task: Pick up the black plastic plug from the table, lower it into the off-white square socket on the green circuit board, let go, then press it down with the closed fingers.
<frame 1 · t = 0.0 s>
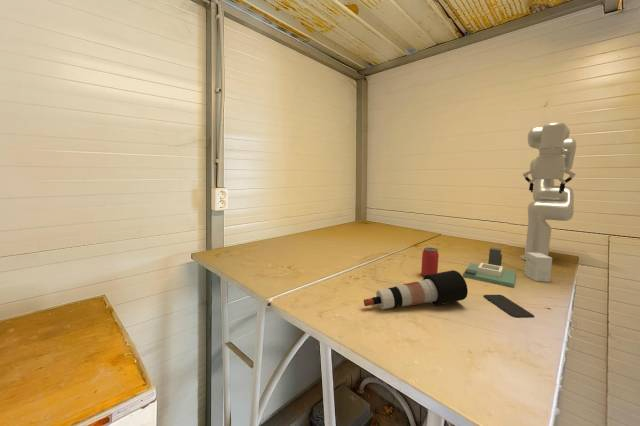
hand: (545, 192, 115), 37 cm above the table, tool pointing down, fingers open, 9 cm apart
phone: (506, 307, 89), on the table
circuit board: (489, 275, 116), on the table
header socket: (490, 269, 116), point 3 cm above the table
small box: (536, 278, 114), on the table
beer can: (429, 275, 116), on the table
plug: (493, 266, 129), on the table
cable: (412, 305, 89), on the table
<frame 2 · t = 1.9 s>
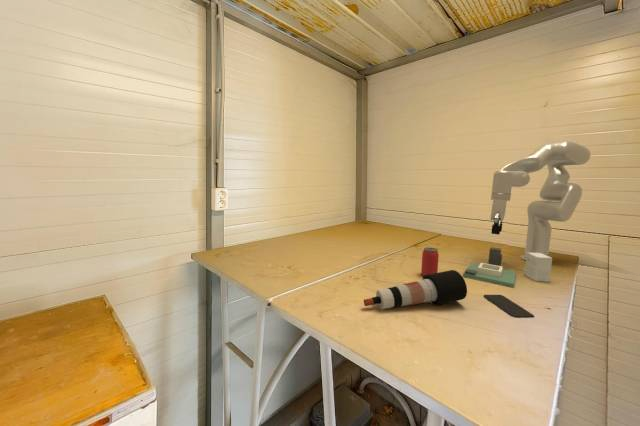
hand: (496, 232, 126), 17 cm above the table, tool pointing down, fingers open, 9 cm apart
nothing on the table moved.
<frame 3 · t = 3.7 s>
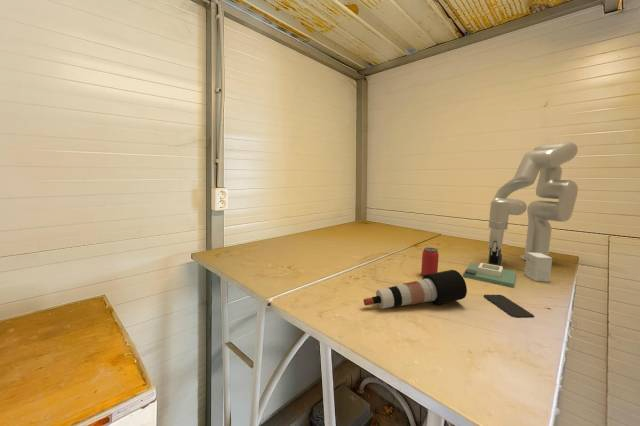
hand: (494, 261, 128), 2 cm above the table, tool pointing down, fingers closed on plug, 4 cm apart
plug: (493, 266, 129), on the table, touching gripper
everything else where it was.
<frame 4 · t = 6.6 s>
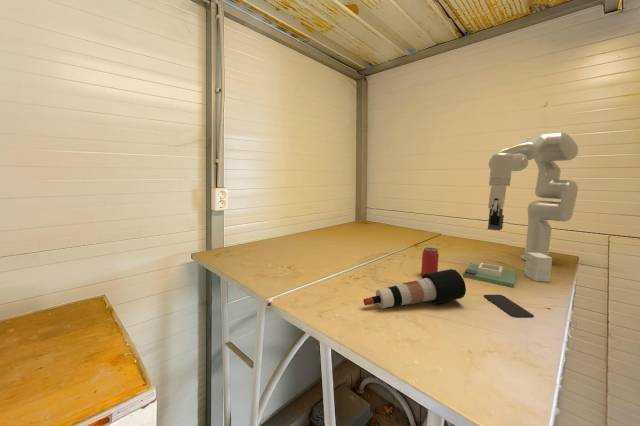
hand: (495, 223, 115), 23 cm above the table, tool pointing down, fingers closed on plug, 4 cm apart
plug: (494, 229, 116), point 21 cm above the table, touching gripper
when the fingers open (5 cm above the table, at t = 9.8 s): plug stays where it is, resting on circuit board.
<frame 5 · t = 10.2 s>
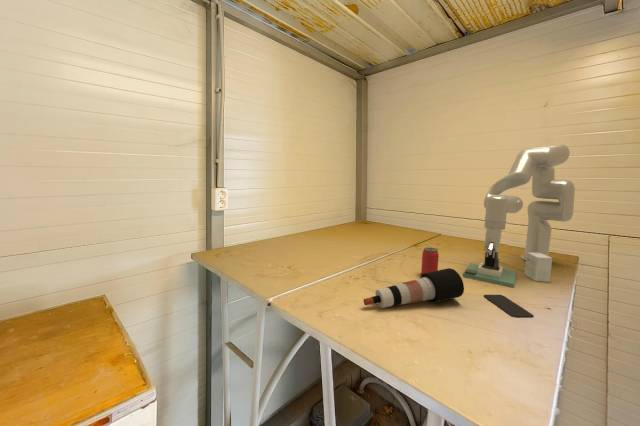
hand: (490, 263, 116), 6 cm above the table, tool pointing down, fingers open, 8 cm apart
plug: (489, 272, 116), point 1 cm above the table, touching circuit board
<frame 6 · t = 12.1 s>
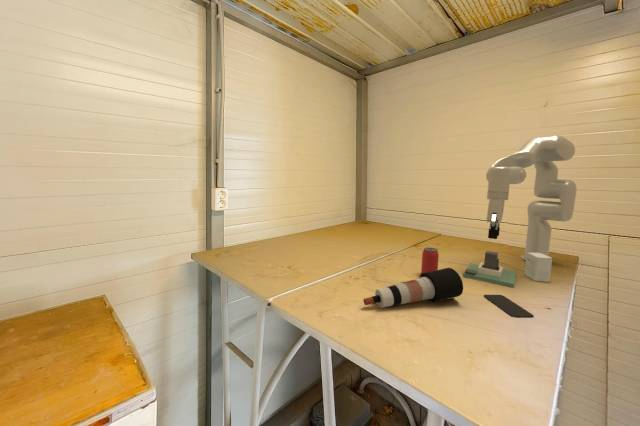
hand: (493, 236, 114), 18 cm above the table, tool pointing down, fingers open, 6 cm apart
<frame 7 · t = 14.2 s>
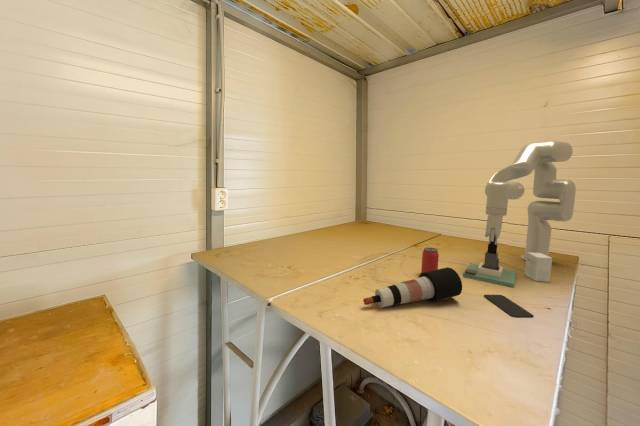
hand: (491, 252, 115), 11 cm above the table, tool pointing down, fingers closed
plug: (489, 272, 116), point 1 cm above the table, touching circuit board, gripper
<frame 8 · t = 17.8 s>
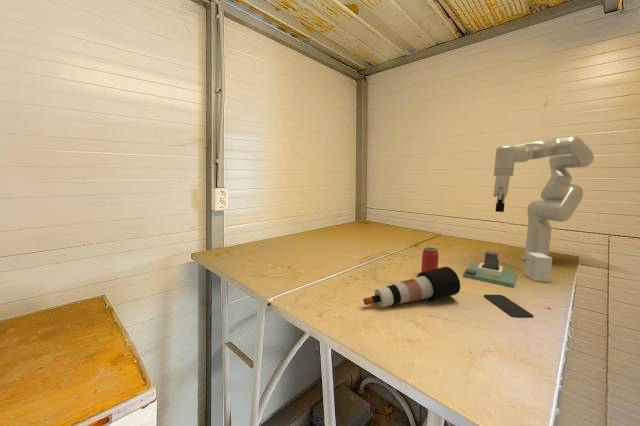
hand: (499, 211, 126), 27 cm above the table, tool pointing down, fingers closed
plug: (489, 272, 116), point 1 cm above the table, touching circuit board
at the end: plug 0.1 cm off-centre on the header socket, point 1.5 cm above the header socket's base; plug tilted 0°; the gripper is holding nothing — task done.
